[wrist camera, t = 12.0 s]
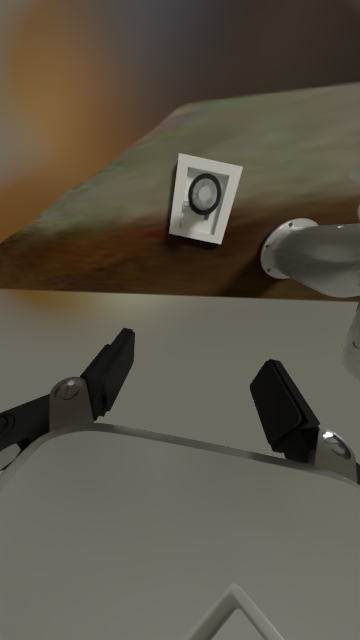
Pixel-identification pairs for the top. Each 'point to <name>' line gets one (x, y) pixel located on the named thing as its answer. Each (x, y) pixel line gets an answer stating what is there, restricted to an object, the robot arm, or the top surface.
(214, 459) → the robot arm
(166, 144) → the top surface
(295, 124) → the top surface
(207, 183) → the push button
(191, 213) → the socket plate
